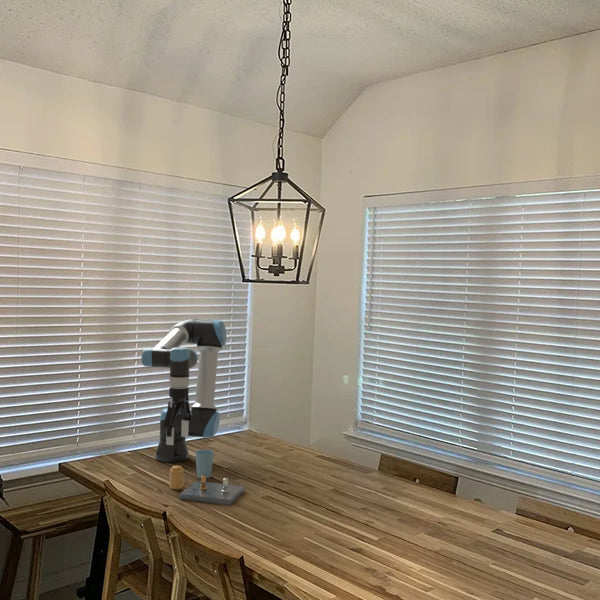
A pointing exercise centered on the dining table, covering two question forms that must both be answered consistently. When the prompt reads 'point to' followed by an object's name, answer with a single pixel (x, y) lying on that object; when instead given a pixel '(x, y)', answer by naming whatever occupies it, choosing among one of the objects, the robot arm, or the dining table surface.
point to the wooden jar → (176, 477)
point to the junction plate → (212, 492)
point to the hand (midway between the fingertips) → (177, 440)
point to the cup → (204, 462)
